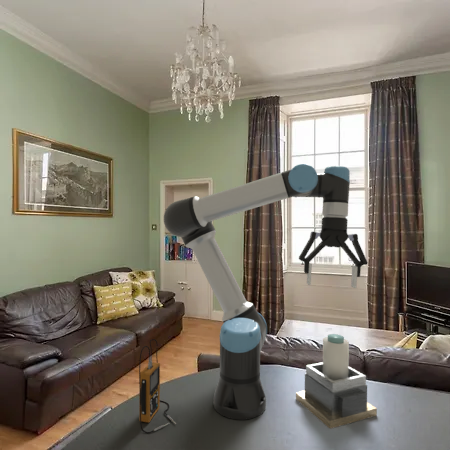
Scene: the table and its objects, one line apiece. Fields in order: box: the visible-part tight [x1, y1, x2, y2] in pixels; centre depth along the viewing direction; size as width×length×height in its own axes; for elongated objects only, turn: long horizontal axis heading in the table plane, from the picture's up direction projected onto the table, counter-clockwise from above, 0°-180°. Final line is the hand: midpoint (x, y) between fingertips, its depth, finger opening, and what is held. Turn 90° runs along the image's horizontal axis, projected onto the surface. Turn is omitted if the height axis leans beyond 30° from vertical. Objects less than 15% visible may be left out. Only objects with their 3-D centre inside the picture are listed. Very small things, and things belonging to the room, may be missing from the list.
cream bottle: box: [322, 333, 350, 381], centre depth 92 cm, size 7×7×12 cm
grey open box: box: [295, 361, 378, 430], centre depth 92 cm, size 15×16×10 cm
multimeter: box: [138, 338, 177, 434], centre depth 87 cm, size 15×10×20 cm
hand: (331, 285), depth 99 cm, fingers open, 13 cm apart
